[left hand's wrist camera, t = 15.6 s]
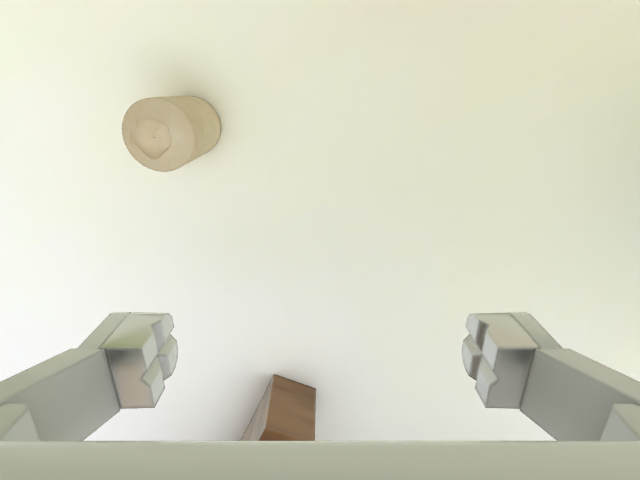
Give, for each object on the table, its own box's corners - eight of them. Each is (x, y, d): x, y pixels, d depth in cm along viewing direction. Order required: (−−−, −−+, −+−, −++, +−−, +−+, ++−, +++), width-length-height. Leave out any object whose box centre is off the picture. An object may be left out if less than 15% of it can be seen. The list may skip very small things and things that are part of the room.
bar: (274, 374, 48) (265, 427, 41) (315, 388, 49) (315, 443, 42) (210, 501, 58) (193, 563, 50) (246, 511, 59) (235, 574, 51)
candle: (222, 155, 38) (190, 177, 28) (167, 152, 38) (117, 173, 28) (220, 97, 36) (185, 100, 26) (162, 93, 36) (106, 95, 26)
